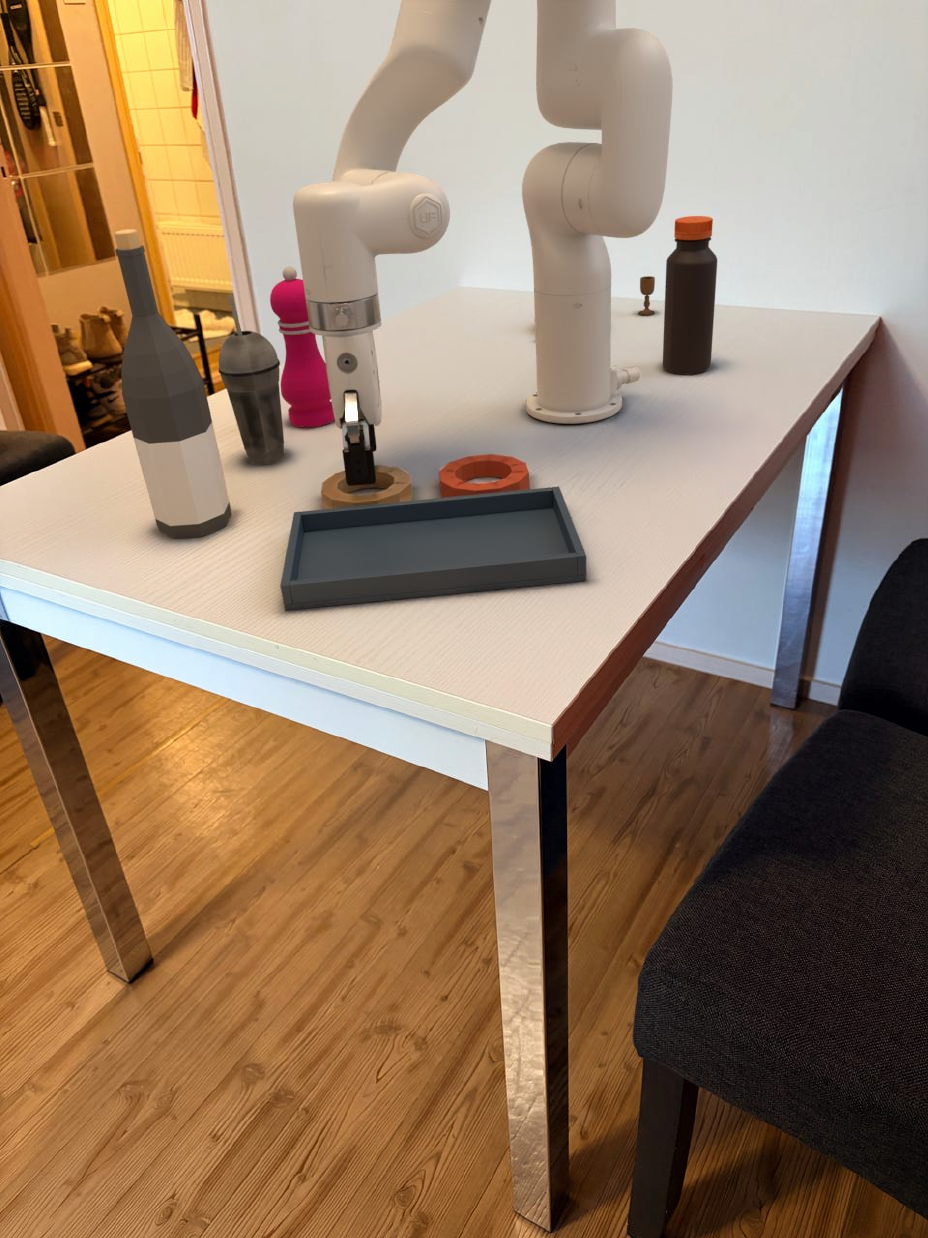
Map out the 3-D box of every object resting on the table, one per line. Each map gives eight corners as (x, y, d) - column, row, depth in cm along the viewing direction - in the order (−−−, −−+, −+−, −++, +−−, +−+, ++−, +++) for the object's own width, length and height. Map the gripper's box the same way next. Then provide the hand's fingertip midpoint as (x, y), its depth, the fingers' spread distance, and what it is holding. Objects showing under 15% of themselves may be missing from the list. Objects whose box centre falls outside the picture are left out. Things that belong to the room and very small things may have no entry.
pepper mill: (330, 429, 126) (306, 272, 116) (278, 429, 128) (250, 273, 117) (346, 410, 132) (325, 259, 122) (297, 410, 134) (272, 260, 123)
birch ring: (410, 477, 111) (409, 461, 110) (413, 513, 102) (411, 496, 101) (326, 485, 111) (323, 469, 109) (321, 522, 102) (319, 505, 101)
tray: (559, 508, 101) (559, 486, 100) (586, 580, 88) (586, 555, 86) (297, 534, 100) (293, 511, 99) (285, 610, 87) (280, 585, 86)
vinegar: (695, 357, 141) (703, 212, 131) (719, 370, 136) (730, 219, 125) (653, 365, 140) (658, 218, 129) (676, 378, 134) (683, 226, 123)
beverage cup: (306, 448, 121) (278, 285, 111) (278, 470, 115) (246, 301, 105) (255, 445, 123) (224, 285, 113) (226, 467, 118) (190, 300, 107)
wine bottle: (163, 546, 100) (83, 243, 84) (153, 517, 106) (76, 231, 91) (240, 528, 103) (176, 230, 87) (225, 500, 109) (162, 219, 93)
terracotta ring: (522, 466, 111) (521, 450, 110) (533, 501, 103) (533, 484, 102) (438, 475, 111) (436, 458, 110) (443, 510, 103) (441, 493, 101)
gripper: (380, 331, 92) (396, 494, 101) (380, 292, 107) (394, 437, 116) (302, 337, 92) (325, 500, 101) (313, 297, 107) (332, 442, 116)
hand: (362, 467), depth 108 cm, fingers open, 9 cm apart
